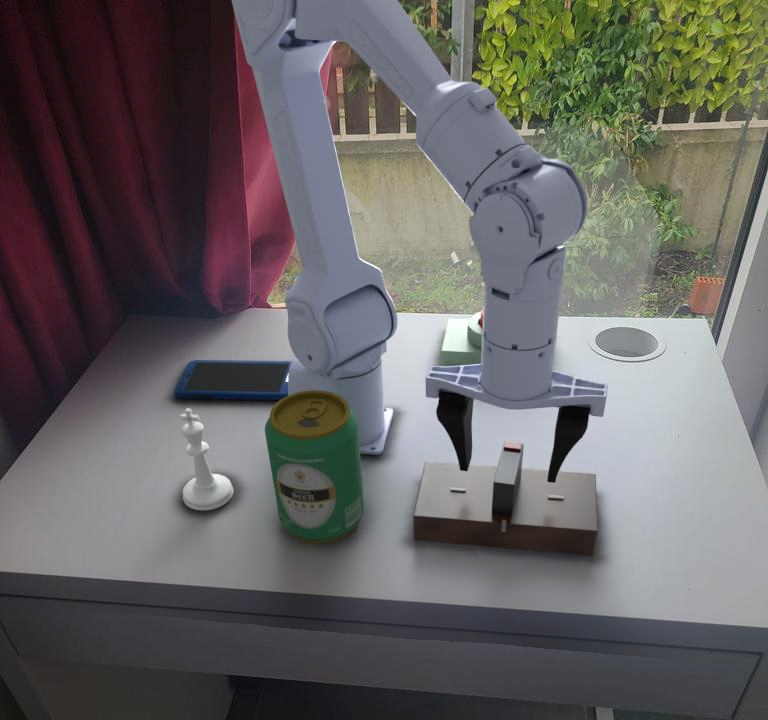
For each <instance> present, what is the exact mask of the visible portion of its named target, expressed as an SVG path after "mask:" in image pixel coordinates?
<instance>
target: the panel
mask: <svg viewBox="0 0 768 720" xmlns="http://www.w3.org/2000/svg"><path fill="white" fill-rule="evenodd" d="M423 464H424V465H423V469H422V474H421V478H420V483H419V488H418V492H417V496H416V501H415V506H414V511H413V515H412V519H413V520H412V525H413V540H414V541H418V542H419V541H420V542H428V543H429V542H430V543H442V544H454V545H465V546H474V547H475V546H476V547H485V548H486V547H488V548H496V549H497V548H498V549H499V548H500V549H511V550H520V551H521V550H523V551H532V552H533V551H534V552H544V553H555V554H556V553H557V554H566V555H577V556H578V555H579V556H591V557H593V556H594V555H595V550H596V544H597V538H598V533H599V524H598V522H599V521H598V499H597V474H596V473H592V472H591V473H590V472H576V471H562V470H559V472H558V474H557V478H556V482H555V483H551V482H547V479H548V472H549V469H534V468H523V467H522V470H521V477H520V482H519V486H518V491H517V495H516V500H515V504H514V509H513V513H512V516H506V515H499V514H492V498H493V483H494V478H495V475H496V471H497V467H498V466H493V465H482V464H481V465H480V464H469V468H468V471H461V470H460V467H459V463H451V462H439V461H426V460H425V461H424V463H423Z"/></svg>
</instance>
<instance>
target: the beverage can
mask: <svg viewBox="0 0 768 720" xmlns="http://www.w3.org/2000/svg"><path fill="white" fill-rule="evenodd" d="M264 434H265V441H266V446H267V453H268V459H269V464H270V471H271V477H272V482H273V489H274V495H275V500H276V507H277V513H278V518H279V521H280V523H281V525H282V526H283V527H284V528H285V529H286V531H288V533H289V534H290V535H291V536H293V537H294V538H295V539H297V540H299V541H301V542H305V543H309V544H317V545H318V544H328V543H333V542H337V541H339V540H342V539H344V538H345V537H347V536H348V535H350V534H351V533H352V532H353V531H354V530H355V529H356V528H357V527H358V525H359V522H360V521H361V519H362V517H363V516H364V515H363V514H364V510H365V503H364V502H365V501H364V490H363V489H364V488H363V476H362V475H363V473H362V460H361V454H360V446H359V432H358V421H357V417H356V415H355V413H354V412H353V411H352V410H351V409H350V408H349V405H348V403H347V402H346V400H345V399H343V398H342V397H341V396H339V395H337V394H334V393H331V392H327V391H319V390H309V391H302V392H297V393H294V394H291V395H288V396H286V397H284V398H282V399H281V400H277V402H276V403H275V404H274V405H273V406H272V407H271V408H270V412H269V417H268V418H267V421H266V422H265V425H264Z"/></svg>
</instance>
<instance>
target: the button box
mask: <svg viewBox="0 0 768 720" xmlns="http://www.w3.org/2000/svg"><path fill="white" fill-rule="evenodd" d="M480 323H481V311H478V312H475V313H474V314H472V315H471V316H470V317H468V318H455V317H454V318H453V317H452V318H451V317H449V318H448V319H447V324H446V329H445V332H444V337H443V341H442V346H441V350H440V366H462V365H474V364H481V352H482V330H483V329H482V328H481V326H480Z"/></svg>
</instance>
